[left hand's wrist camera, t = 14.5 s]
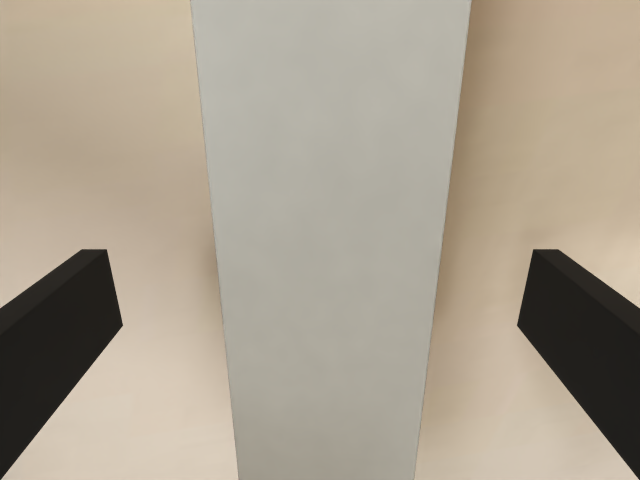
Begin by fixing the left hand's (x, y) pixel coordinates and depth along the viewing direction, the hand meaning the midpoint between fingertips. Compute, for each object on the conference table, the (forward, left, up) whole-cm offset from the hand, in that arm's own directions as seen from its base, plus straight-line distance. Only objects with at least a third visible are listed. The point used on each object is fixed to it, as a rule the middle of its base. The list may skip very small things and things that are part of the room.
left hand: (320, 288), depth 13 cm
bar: (+20, +22, -5) cm, 30 cm away
